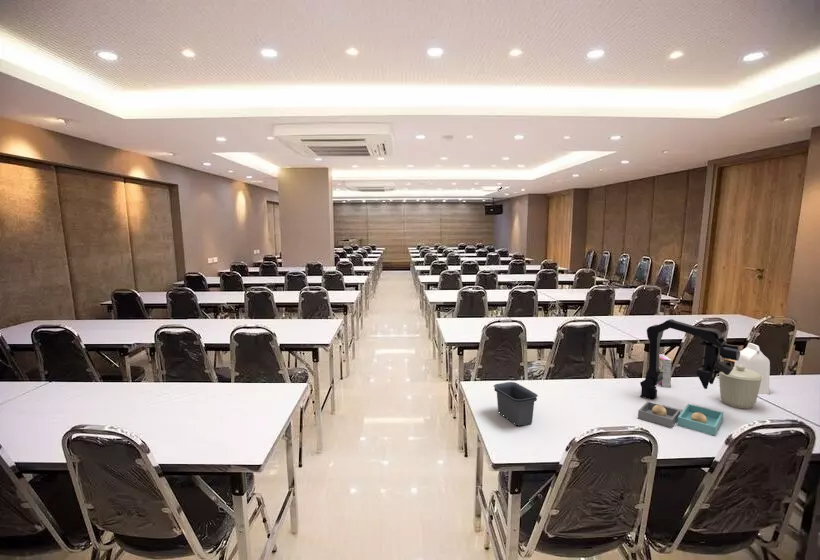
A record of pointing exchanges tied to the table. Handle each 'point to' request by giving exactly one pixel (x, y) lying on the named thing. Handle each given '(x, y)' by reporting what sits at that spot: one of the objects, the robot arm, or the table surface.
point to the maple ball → (659, 410)
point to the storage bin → (515, 402)
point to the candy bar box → (665, 370)
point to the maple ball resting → (699, 417)
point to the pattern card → (674, 408)
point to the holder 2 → (709, 428)
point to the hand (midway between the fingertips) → (708, 386)
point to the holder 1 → (667, 421)
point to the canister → (740, 387)
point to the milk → (756, 364)
